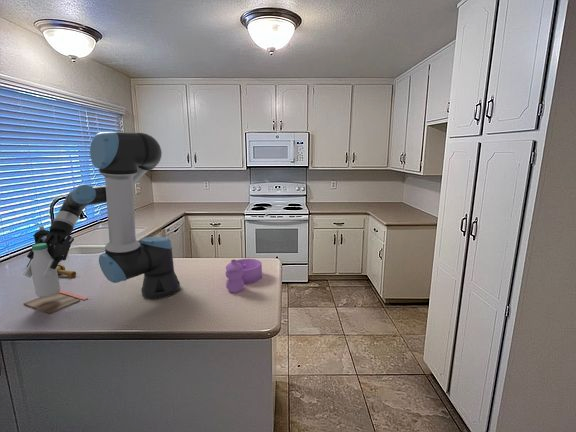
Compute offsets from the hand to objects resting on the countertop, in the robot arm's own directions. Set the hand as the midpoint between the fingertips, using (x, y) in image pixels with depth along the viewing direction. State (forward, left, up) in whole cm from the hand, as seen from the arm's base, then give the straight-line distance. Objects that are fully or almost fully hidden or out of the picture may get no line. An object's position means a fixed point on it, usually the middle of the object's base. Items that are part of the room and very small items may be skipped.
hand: (36, 276), depth 119 cm
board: (+1, -4, -13) cm, 13 cm away
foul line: (+1, -11, -13) cm, 17 cm away
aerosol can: (+58, -31, -13) cm, 67 cm away
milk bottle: (+1, -3, -9) cm, 9 cm away
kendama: (+29, -22, -13) cm, 39 cm away
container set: (-57, -51, -13) cm, 78 cm away
